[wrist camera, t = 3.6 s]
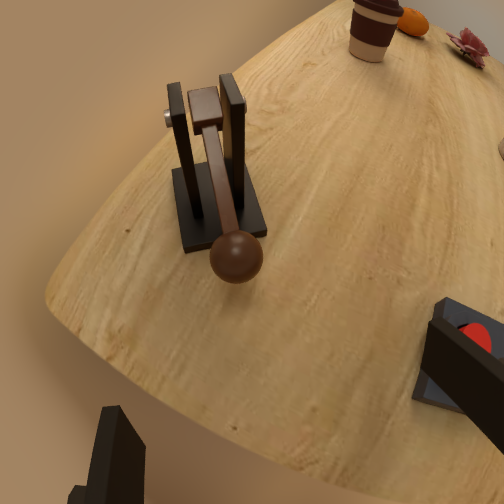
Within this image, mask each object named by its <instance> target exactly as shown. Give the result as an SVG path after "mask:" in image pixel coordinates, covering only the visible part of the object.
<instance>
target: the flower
mask: <svg viewBox="0 0 504 504" xmlns="http://www.w3.org/2000/svg"><path fill="white" fill-rule="evenodd" d="M446 34H447V35H448V36H449V37H451V38H450V40H451V41H452V42H454V43H455V44H456V46H457V47H459V48H461V50H460V51H461V52H463V56H464V55H465V54H468V55H469V56H470V57H471V58H472V59H473V60H474V61H475V62H476V63H477V64H476V67H479V66H481V68H482V69H483V66H484V67H485V64H484V61H483V59H482V57H481V56H490V55H489V52H488V50H487V48H486V47H485V45H484V44H483V43H482V41H481V40H480V39H479V38H478V37H476V36H475V35H474V34H473V33H471V31H470V30H468V28H466V27H465V29H464V30H462V31H461V32H460V36H461V39H462V40H461V39H459V38H457V37H455V36H454V35H452V34H450V33H446Z"/></svg>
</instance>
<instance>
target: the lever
mask: <svg viewBox="0 0 504 504" xmlns="http://www.w3.org/2000/svg"><path fill="white" fill-rule="evenodd" d="M187 93H188V103H189V109H190V115H191V120H192V126H193V131H194V135H201V134H202V137H203V142H204V147H205V152H206V157H207V162H208V167H209V172H210V177H211V182H212V186H213V191H214V196H215V201H216V205H217V210H218V215H219V219H220V224H221V229H222V233H223V234H222V235H220V236H219V237H218V238H217V239H216V240H215V241H214V243H213V245H212V247H211V250H210V264H211V267H212V269H213V271H214V272H215V274H216V275H217V276H218V277H219V278H221V279H222V280H224V281H226V282H228V283H234V284H240V283H244V282H247V281H249V280H251V279H252V278H254V277H255V276H256V275H257V274H258V272H259V271H260V269H261V266H262V263H263V251H262V247H261V245H260V243H259V242H258V240H257V239H256V238H255V237H254V236H253V235H251V234H250V233H248V232H245V231H241V230H239V226H238V221H237V217H236V212H235V208H234V203H233V198H232V194H231V189H230V185H229V180H228V176H227V171H226V166H225V162H224V157H223V153H222V148H221V143H220V139H219V134H218V131H222V130H223V120H224V115H223V111H222V106H221V102H220V98H219V93H218V89H217V86H214V87H208V88H202V89H197V90H191V91H188V92H187Z"/></svg>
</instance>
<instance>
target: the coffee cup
mask: <svg viewBox="0 0 504 504" xmlns="http://www.w3.org/2000/svg"><path fill="white" fill-rule="evenodd" d="M353 1H354V2H355V6H354V9H353V13H352V21H351V28H350V34H351V36H350V43H349V51H350V52H351V53H352V54H353V55H354V56H356V57H358V58H360V59H363V60H366V61H369V62H380V61H382V59H383V57H384V54H385V52H386V49H387V47H388V46H389V45H390V42H391V40H392V37H393V35H394V32H395V30H396V27H397V24H398V23H397V21H398V19H399V17H402V16H403V13H404V9H403V8H402V7H401V6H399V3H398V0H353Z"/></svg>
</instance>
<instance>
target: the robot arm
mask: <svg viewBox="0 0 504 504" xmlns="http://www.w3.org/2000/svg"><path fill="white" fill-rule="evenodd" d="M421 369H422V370H423V371H424V372H425V373H426V374H427V375H428V376H429V377H430V378H431V379H432V380H433V381H434V382H435V383H436V384H437V385H438V386H439V387H440V388H441V389H442V390H443V391H444V392H445V393H446V394H447V395H448V396H449V397H450V398H451V399H452V401H453V402H454V403H455V404H456V405H457V406H458V407H459V408H460V409H461V410H462V411H463V412H464V413H465V414H466V415H467V416H468V417H469V418H470V419H471V420H472V421H473V422H474V423H475V424H476V426H477V427H478V428H479V429H480V430H481V431H482V432H483V433H484V434H485V435H486V436H487V437H488V438H489V439H490V440H491V442H492V443H493V444H494V445H495V446H496V447H497V448H498V449H499V450H500V451H501V452H502V454H503V455H504V358H502V357H500V358H499V359H497V358H495V357H494V356H493V355H491V354H490V353H489V352H488V351H486V350H485V349H484V348H482V347H481V346H480V345H479V344H477V343H476V342H475V341H473V340H472V339H471V338H469V337H468V336H467V335H465V334H464V333H463V332H461V331H460V330H459V329H457V328H456V327H455V326H453V325H452V324H451V323H449V322H448V321H447V320H445V319H444V318H442V317H441V316H440V317H438V318H436V319H433V320H431V321H429V323H428V329H427V336H426V342H425V347H424V353H423V358H422V363H421ZM145 449H146V446H145V445H144V443H143V441H142V440H141V438H140V437H139V435H138V434H137V433H136V431H135V429H134V428H133V426H132V425H131V423H130V422H129V420H128V419H127V417H126V415H125V414H124V412H123V410H122V409H121V407H120V405H117V406H107V407H103V408H102V411H101V416H100V420H99V424H98V429H97V433H96V438H95V443H94V447H93V452H92V458H91V463H90V469H89V474H88V480H87V486H80V485H75V486H74V488H73V490H72V491H71V493H70V494H69V496H68V502H67V504H144V473H145V451H146V450H145Z"/></svg>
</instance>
